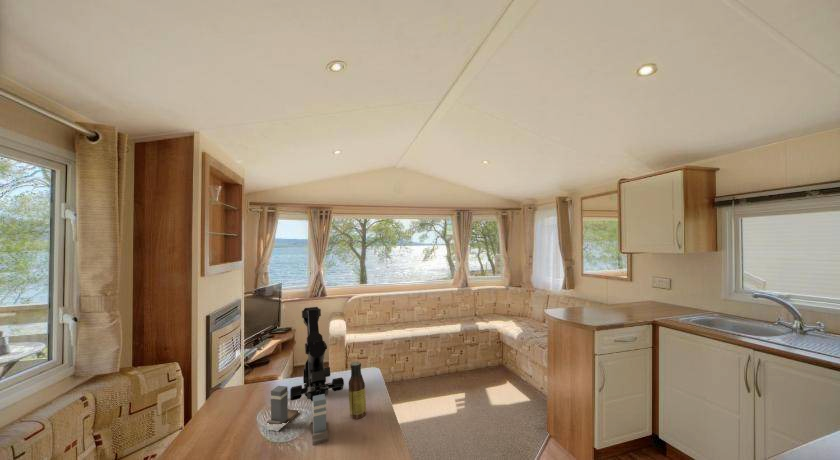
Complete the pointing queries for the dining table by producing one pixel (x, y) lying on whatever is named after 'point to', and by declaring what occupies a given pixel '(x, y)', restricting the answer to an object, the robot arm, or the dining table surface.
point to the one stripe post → (279, 404)
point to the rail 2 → (319, 436)
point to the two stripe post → (319, 413)
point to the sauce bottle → (357, 392)
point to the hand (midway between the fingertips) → (319, 413)
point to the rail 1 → (290, 415)
